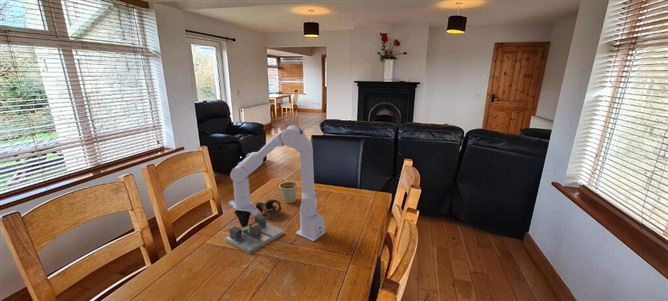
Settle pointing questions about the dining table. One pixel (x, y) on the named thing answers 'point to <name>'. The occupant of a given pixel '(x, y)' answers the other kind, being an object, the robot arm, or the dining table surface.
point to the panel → (251, 242)
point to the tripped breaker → (255, 229)
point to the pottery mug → (267, 206)
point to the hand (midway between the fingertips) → (244, 226)
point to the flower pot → (288, 191)
